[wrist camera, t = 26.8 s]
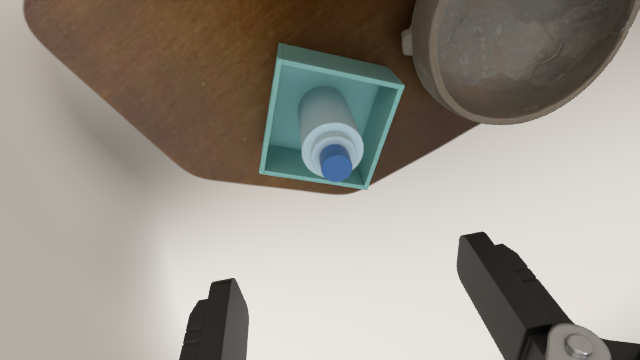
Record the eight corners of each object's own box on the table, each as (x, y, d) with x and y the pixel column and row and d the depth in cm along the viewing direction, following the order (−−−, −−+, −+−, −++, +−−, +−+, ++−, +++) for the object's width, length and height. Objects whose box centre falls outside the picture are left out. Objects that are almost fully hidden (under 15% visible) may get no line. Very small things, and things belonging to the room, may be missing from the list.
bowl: (371, 75, 38) (395, 109, 30) (440, -131, 29) (503, -167, 21) (505, 109, 42) (560, 147, 33) (604, -66, 33) (714, -73, 24)
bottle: (299, 133, 41) (303, 198, 30) (297, 86, 38) (301, 139, 27) (346, 132, 41) (367, 195, 30) (348, 85, 38) (373, 137, 27)
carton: (262, 145, 42) (258, 173, 36) (278, 42, 35) (277, 58, 30) (357, 161, 44) (367, 189, 38) (388, 66, 38) (405, 85, 32)
